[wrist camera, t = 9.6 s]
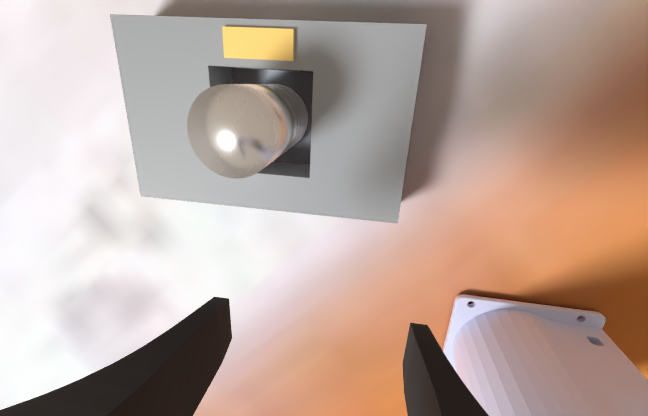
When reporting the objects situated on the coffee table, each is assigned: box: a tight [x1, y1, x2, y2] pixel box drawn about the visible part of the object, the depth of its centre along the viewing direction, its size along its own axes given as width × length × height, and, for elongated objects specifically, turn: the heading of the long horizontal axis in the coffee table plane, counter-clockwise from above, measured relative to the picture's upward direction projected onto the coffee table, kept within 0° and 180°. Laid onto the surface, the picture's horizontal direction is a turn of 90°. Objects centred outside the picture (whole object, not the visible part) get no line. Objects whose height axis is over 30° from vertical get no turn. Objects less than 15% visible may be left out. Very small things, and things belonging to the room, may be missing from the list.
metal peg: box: [187, 84, 308, 179], centre depth 17 cm, size 4×4×7 cm
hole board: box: [110, 14, 427, 223], centre depth 19 cm, size 16×10×3 cm, turn 87°
